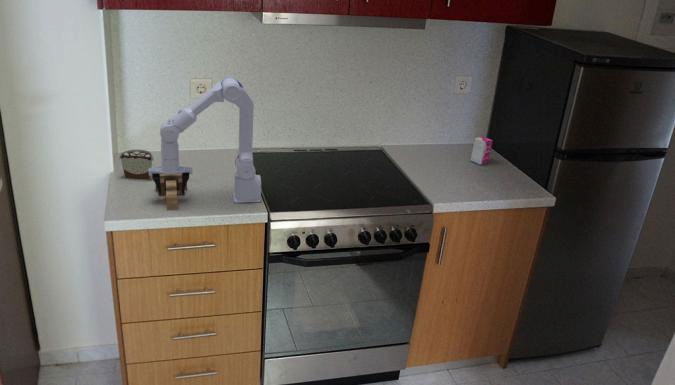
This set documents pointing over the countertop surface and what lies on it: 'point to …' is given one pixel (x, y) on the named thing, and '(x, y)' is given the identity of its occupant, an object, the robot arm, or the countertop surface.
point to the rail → (171, 195)
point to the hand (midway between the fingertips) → (171, 192)
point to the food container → (136, 164)
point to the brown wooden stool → (171, 177)
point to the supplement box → (481, 150)
